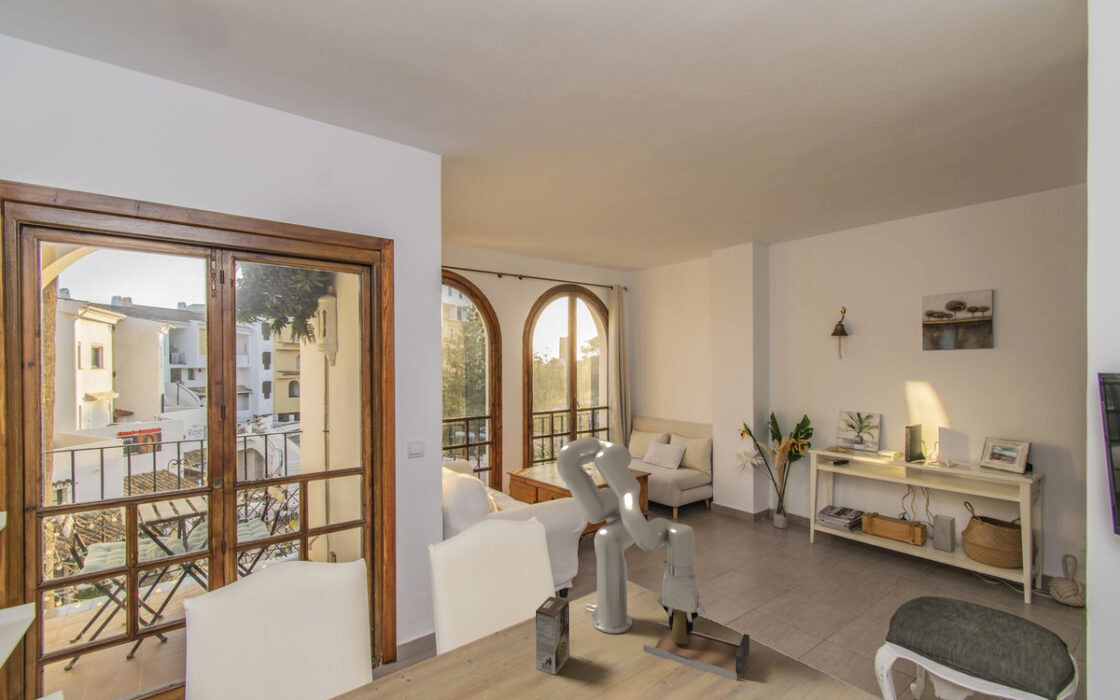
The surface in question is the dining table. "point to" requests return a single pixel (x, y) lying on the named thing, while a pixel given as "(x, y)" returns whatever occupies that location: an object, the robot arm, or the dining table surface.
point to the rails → (691, 661)
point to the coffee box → (552, 635)
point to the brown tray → (710, 651)
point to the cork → (680, 628)
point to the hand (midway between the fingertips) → (680, 630)
